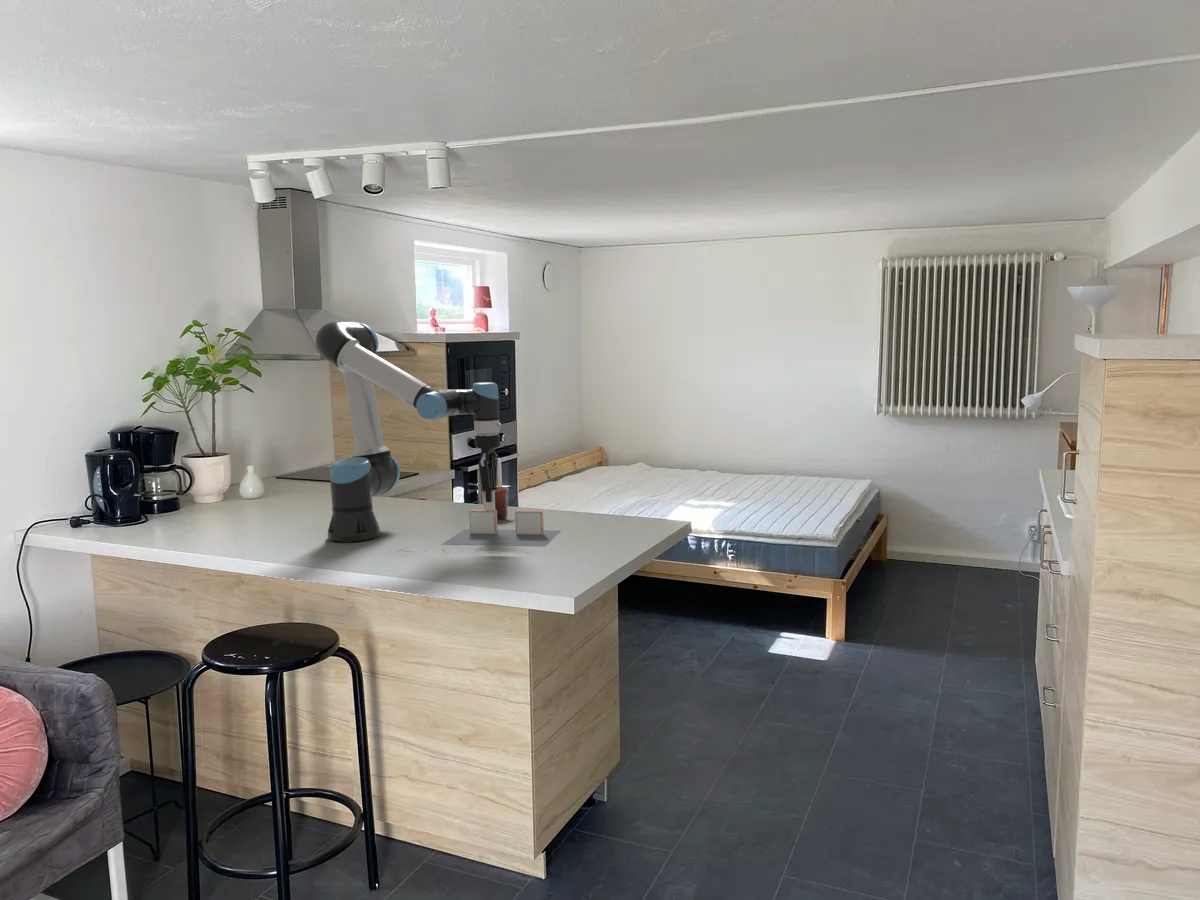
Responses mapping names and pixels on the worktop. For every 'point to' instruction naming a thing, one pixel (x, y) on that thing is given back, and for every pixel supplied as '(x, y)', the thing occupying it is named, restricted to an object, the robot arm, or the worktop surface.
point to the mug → (500, 502)
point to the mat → (501, 538)
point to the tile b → (529, 522)
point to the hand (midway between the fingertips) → (490, 511)
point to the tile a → (483, 522)
